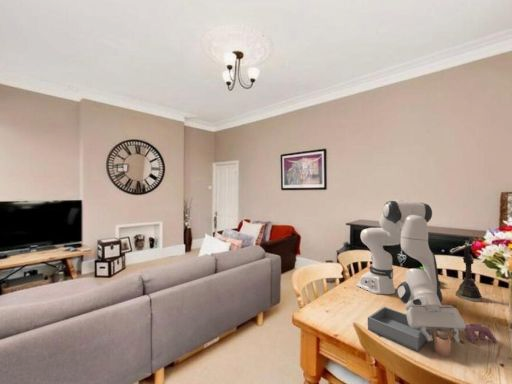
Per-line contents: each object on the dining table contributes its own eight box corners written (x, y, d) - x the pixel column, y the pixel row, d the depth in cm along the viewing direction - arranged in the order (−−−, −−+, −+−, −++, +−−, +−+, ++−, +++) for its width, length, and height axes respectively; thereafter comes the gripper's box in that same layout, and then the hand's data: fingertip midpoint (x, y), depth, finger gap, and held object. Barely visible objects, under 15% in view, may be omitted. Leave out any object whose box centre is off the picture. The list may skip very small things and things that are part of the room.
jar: (432, 351, 96) (431, 331, 96) (436, 346, 99) (436, 326, 99) (448, 358, 92) (448, 337, 92) (452, 352, 95) (452, 332, 95)
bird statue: (442, 295, 146) (441, 236, 145) (448, 288, 154) (447, 233, 154) (480, 304, 133) (479, 240, 133) (483, 297, 141) (483, 236, 141)
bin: (367, 329, 111) (367, 317, 111) (384, 317, 121) (384, 306, 121) (417, 351, 96) (417, 337, 96) (432, 336, 106) (431, 323, 105)
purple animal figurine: (489, 342, 103) (482, 323, 106) (499, 343, 99) (491, 323, 102) (465, 342, 104) (459, 323, 107) (474, 343, 100) (467, 323, 103)
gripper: (451, 308, 105) (468, 345, 96) (400, 306, 108) (412, 342, 98) (458, 302, 101) (477, 341, 91) (405, 300, 103) (418, 337, 93)
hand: (443, 341), depth 95 cm, fingers open, 8 cm apart
